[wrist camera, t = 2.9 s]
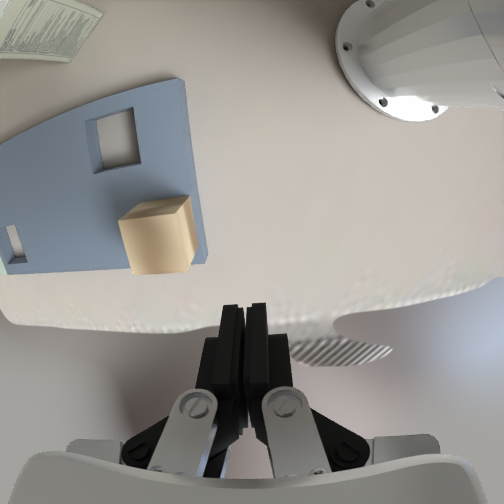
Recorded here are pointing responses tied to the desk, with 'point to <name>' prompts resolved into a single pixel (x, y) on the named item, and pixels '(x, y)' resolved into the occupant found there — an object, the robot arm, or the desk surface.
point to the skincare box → (44, 28)
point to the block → (160, 236)
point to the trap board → (93, 182)
